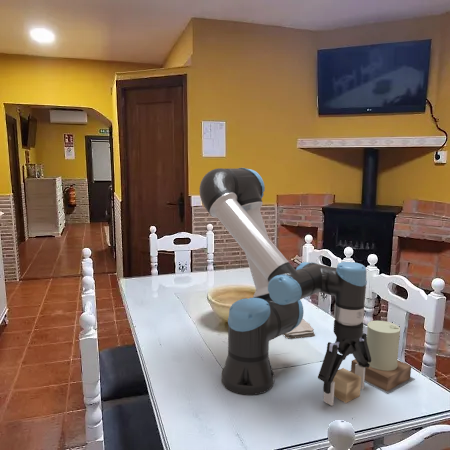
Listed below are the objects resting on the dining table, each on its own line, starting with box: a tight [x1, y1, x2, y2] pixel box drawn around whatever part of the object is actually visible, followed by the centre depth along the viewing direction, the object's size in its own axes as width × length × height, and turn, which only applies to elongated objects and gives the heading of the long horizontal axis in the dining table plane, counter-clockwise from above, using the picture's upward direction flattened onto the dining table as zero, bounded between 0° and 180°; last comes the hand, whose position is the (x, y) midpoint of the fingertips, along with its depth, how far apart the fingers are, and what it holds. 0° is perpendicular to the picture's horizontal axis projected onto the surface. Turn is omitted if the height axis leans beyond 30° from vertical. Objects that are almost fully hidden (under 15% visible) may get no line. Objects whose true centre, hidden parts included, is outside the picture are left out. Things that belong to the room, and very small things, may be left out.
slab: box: [350, 358, 412, 391], centre depth 121 cm, size 12×12×4 cm
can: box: [366, 320, 401, 371], centre depth 120 cm, size 9×9×12 cm
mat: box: [349, 370, 415, 395], centre depth 122 cm, size 14×14×1 cm
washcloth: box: [283, 318, 316, 339], centre depth 156 cm, size 12×18×3 cm, turn 16°
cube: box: [333, 367, 361, 404], centre depth 111 cm, size 6×6×6 cm
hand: (344, 395), depth 112 cm, fingers open, 12 cm apart
